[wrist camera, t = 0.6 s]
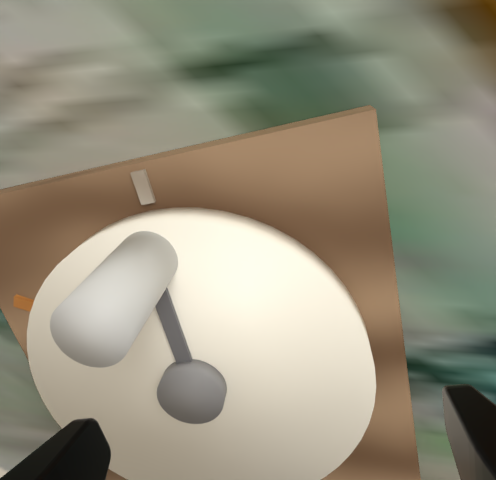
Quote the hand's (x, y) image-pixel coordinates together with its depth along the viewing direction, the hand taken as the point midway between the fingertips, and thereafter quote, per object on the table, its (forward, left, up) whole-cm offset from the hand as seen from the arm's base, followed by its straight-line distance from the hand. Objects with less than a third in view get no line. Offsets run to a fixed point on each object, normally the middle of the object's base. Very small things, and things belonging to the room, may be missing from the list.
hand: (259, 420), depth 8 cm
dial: (-6, +5, -10) cm, 13 cm away
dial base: (-6, +5, -12) cm, 15 cm away
